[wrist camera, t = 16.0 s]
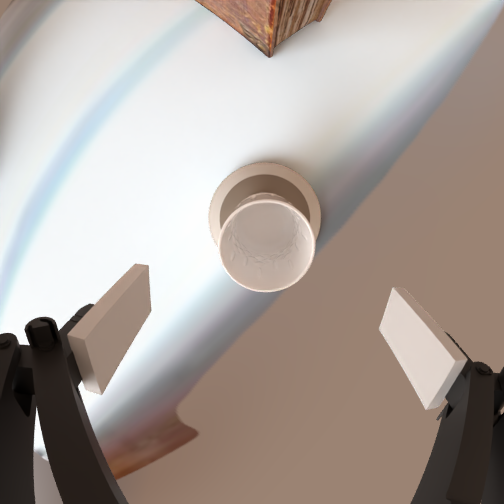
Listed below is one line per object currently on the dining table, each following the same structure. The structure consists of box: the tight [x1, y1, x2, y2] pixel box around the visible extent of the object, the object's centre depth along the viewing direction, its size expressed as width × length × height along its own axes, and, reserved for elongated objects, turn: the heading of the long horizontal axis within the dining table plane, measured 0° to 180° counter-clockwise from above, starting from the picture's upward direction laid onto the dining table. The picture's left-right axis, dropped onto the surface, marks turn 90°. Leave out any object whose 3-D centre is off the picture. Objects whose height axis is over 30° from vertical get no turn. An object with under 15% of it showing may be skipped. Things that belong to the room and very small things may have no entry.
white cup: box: [218, 192, 315, 292], centre depth 27 cm, size 8×8×10 cm
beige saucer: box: [209, 163, 321, 248], centre depth 33 cm, size 13×13×2 cm
